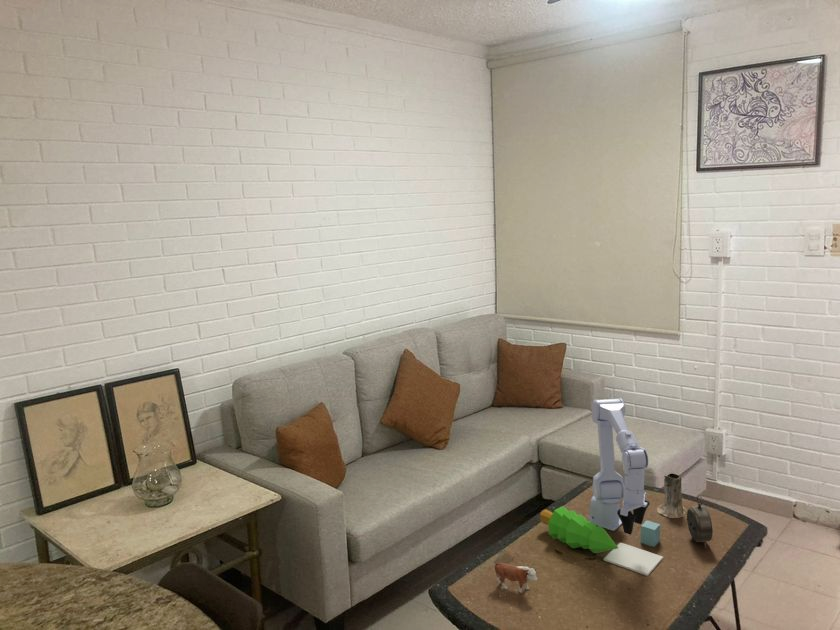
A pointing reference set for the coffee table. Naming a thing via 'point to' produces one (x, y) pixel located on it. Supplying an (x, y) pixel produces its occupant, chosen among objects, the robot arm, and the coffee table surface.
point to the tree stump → (672, 498)
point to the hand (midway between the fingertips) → (633, 528)
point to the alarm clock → (699, 523)
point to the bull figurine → (515, 574)
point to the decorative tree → (576, 530)
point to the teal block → (650, 533)
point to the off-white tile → (633, 559)
